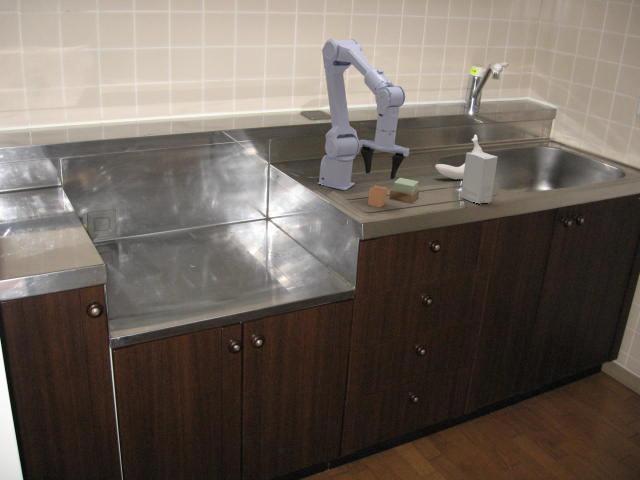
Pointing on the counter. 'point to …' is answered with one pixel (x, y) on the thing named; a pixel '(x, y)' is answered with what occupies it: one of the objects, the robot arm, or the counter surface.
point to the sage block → (405, 185)
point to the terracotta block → (377, 196)
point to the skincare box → (478, 177)
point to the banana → (456, 171)
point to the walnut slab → (404, 196)
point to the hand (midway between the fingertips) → (380, 175)
